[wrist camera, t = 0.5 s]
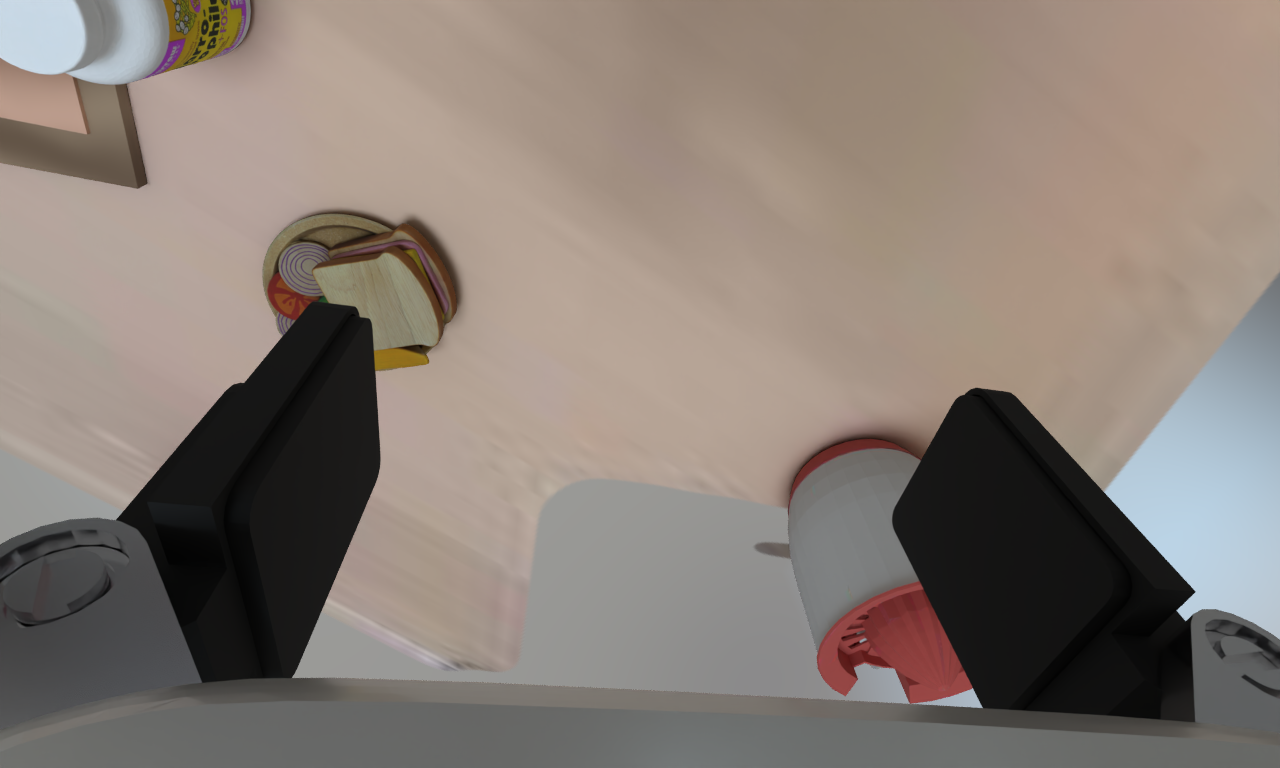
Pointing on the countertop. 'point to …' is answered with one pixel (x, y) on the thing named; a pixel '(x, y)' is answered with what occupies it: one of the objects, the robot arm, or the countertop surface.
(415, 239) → the toy sandwich meal
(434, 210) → the countertop surface
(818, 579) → the citrus juicer
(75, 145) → the tile board
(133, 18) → the supplement bottle
